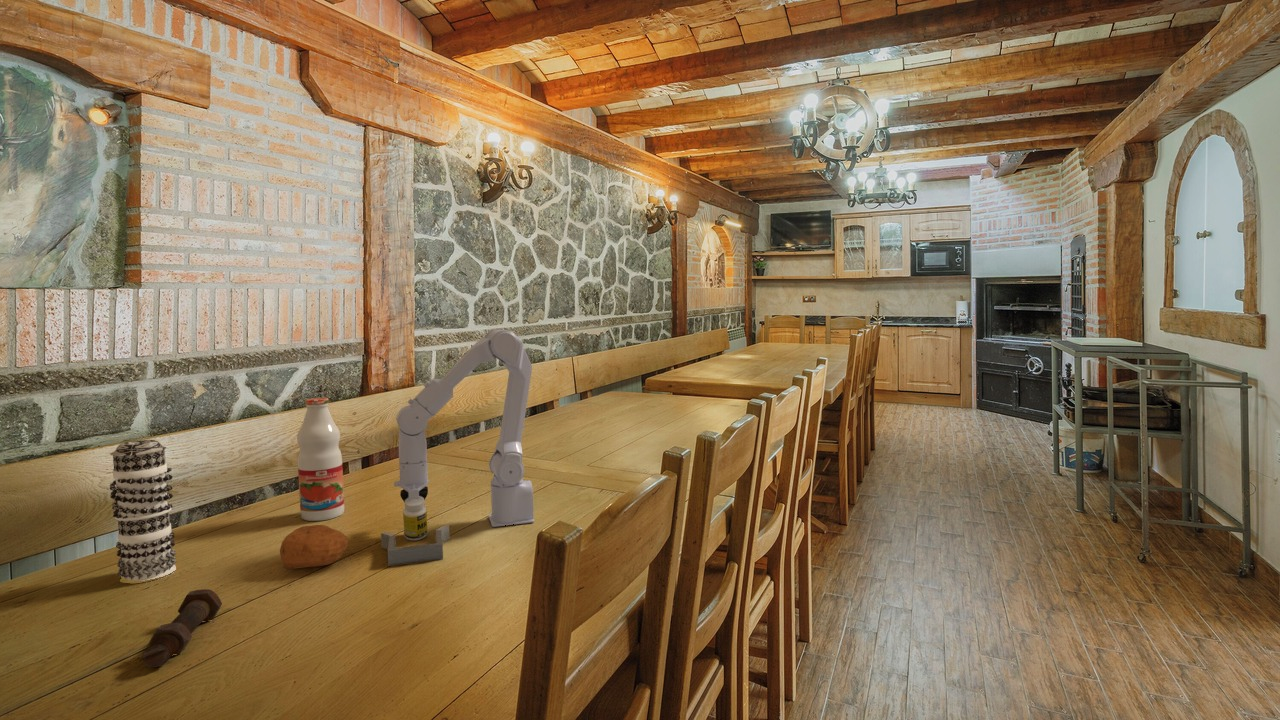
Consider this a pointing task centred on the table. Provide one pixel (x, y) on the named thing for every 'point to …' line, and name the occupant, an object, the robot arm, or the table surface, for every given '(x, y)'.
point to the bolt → (181, 626)
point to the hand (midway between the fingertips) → (415, 522)
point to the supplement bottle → (415, 519)
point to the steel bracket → (414, 549)
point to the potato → (312, 547)
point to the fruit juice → (320, 464)
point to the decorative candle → (142, 510)
